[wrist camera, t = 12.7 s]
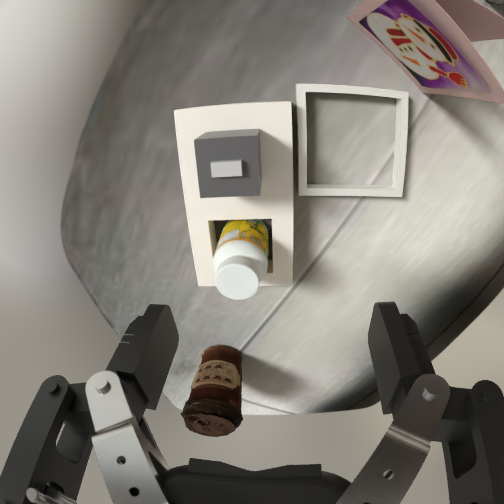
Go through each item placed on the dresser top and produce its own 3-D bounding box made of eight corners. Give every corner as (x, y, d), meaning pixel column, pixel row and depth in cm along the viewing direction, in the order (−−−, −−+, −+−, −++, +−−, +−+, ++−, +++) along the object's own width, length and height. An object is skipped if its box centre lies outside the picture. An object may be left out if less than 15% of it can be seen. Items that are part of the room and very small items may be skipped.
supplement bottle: (214, 226, 35) (195, 271, 27) (254, 205, 34) (246, 246, 25) (238, 261, 37) (227, 313, 29) (277, 243, 36) (277, 292, 28)
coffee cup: (189, 338, 45) (168, 409, 33) (242, 336, 44) (233, 411, 32) (204, 373, 49) (190, 438, 38) (252, 372, 48) (246, 441, 36)
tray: (402, 91, 26) (408, 92, 25) (397, 192, 32) (401, 197, 30) (295, 84, 27) (296, 83, 26) (298, 191, 33) (299, 195, 31)
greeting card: (341, 22, 23) (393, -25, 10) (381, -15, 20) (446, -66, 7) (418, 97, 26) (506, 113, 13) (453, 59, 23) (544, 60, 10)
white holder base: (289, 101, 28) (295, 103, 20) (291, 271, 38) (294, 317, 30) (182, 108, 29) (152, 115, 21) (203, 272, 39) (187, 317, 31)
